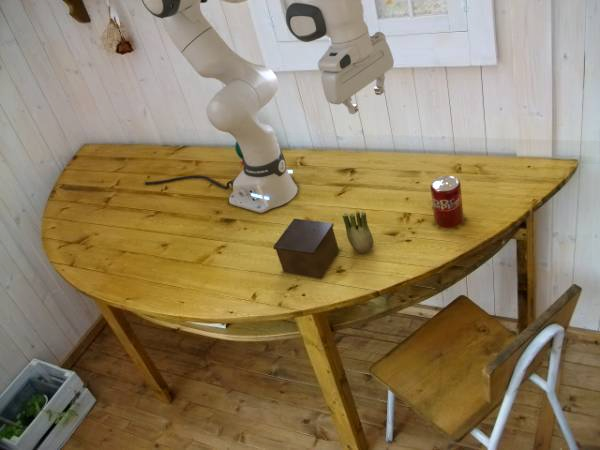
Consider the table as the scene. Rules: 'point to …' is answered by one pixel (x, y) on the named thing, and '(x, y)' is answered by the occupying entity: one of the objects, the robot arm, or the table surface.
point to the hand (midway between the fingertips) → (367, 103)
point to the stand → (307, 248)
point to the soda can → (447, 202)
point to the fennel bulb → (358, 232)
